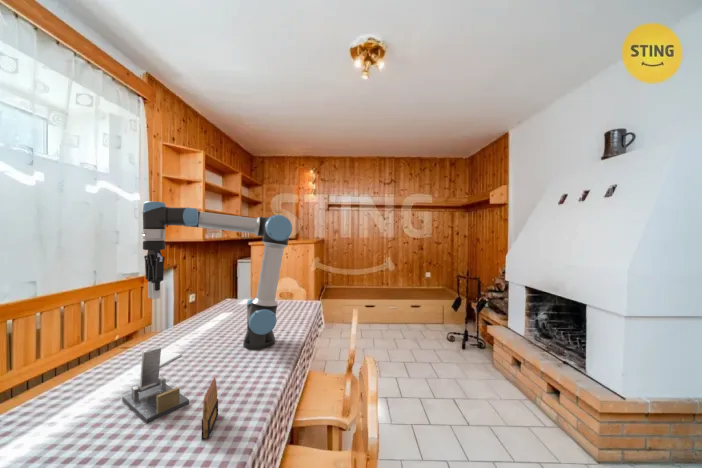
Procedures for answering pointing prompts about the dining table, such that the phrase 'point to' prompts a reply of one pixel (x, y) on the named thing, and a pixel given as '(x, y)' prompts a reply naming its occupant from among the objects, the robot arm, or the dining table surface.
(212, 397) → the ammunition clip
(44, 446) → the dining table surface
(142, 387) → the strap
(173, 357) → the external hard drive
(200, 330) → the dining table surface
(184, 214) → the robot arm
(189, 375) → the dining table surface
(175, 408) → the latch board
